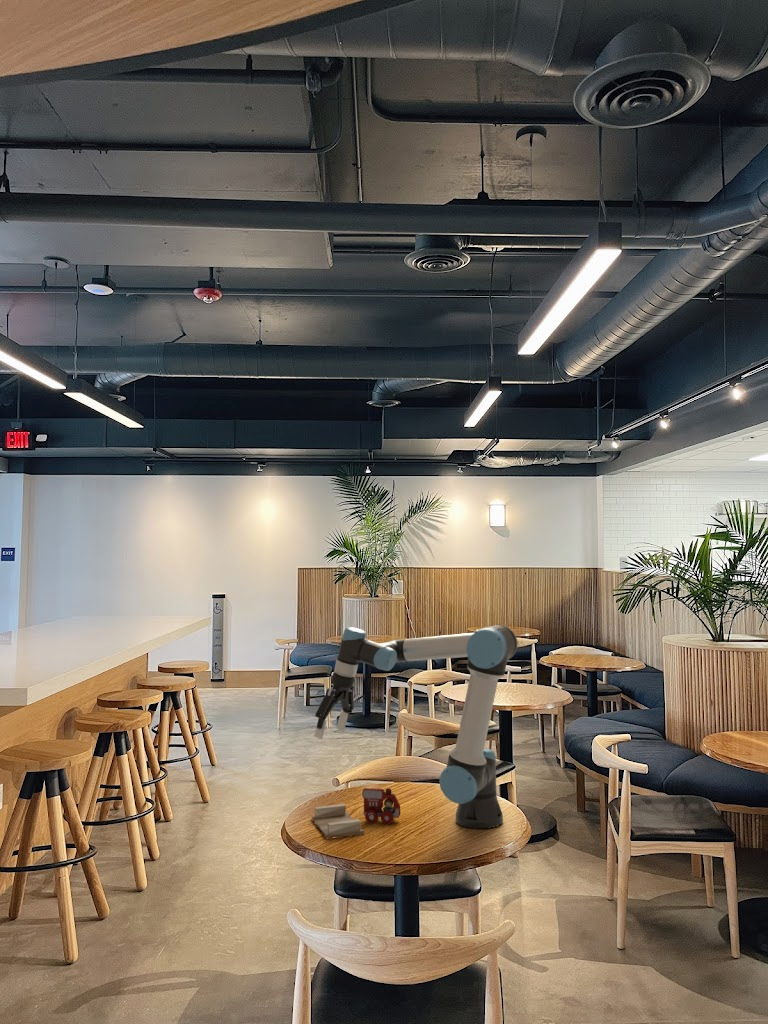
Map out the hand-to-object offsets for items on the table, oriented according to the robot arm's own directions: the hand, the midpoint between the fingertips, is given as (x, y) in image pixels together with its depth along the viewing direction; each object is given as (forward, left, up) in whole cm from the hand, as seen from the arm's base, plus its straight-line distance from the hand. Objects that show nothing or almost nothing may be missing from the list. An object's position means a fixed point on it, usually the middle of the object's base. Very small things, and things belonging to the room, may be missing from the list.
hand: (329, 733), depth 257 cm
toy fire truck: (-11, -14, -27) cm, 33 cm away
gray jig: (-11, +1, -27) cm, 29 cm away
